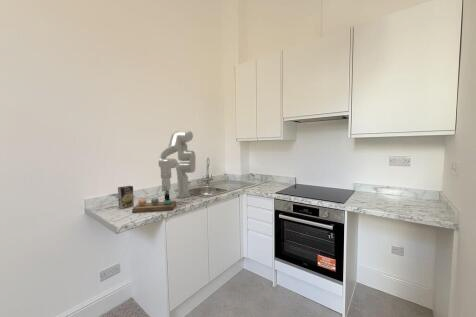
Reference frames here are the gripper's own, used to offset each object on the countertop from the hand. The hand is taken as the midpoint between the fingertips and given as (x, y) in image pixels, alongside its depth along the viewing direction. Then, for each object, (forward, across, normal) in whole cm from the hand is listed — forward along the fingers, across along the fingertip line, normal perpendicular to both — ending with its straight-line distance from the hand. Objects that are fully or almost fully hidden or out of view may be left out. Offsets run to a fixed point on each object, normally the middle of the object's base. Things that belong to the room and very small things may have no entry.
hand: (167, 199), depth 157 cm
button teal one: (+3, 0, 0) cm, 3 cm away
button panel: (+6, 0, -9) cm, 11 cm away
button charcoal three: (+2, 0, -9) cm, 9 cm away
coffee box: (+7, -10, -33) cm, 35 cm away
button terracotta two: (+2, 0, -18) cm, 18 cm away
